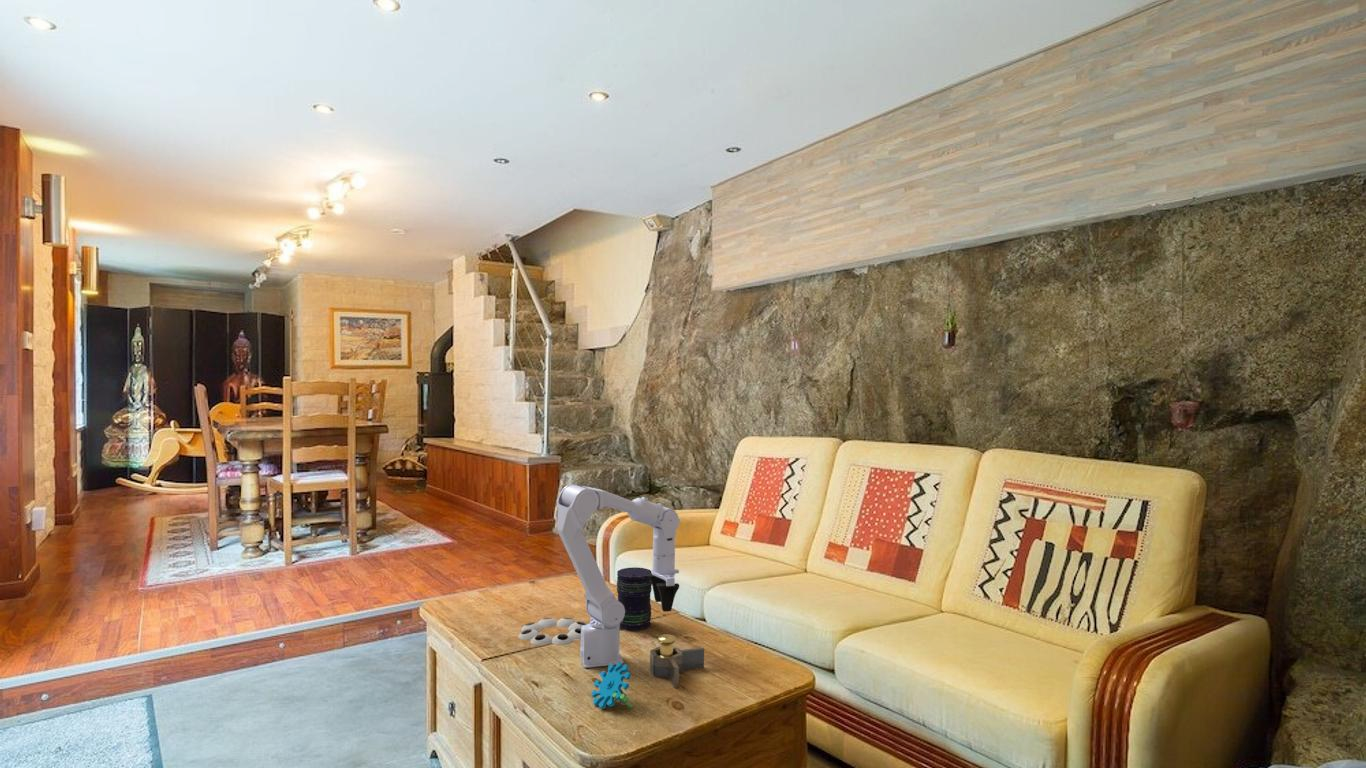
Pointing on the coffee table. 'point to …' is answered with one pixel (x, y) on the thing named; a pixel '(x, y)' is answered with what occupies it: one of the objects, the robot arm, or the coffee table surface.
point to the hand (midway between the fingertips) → (663, 606)
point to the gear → (612, 686)
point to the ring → (550, 622)
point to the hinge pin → (666, 644)
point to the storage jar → (635, 598)
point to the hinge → (675, 663)
